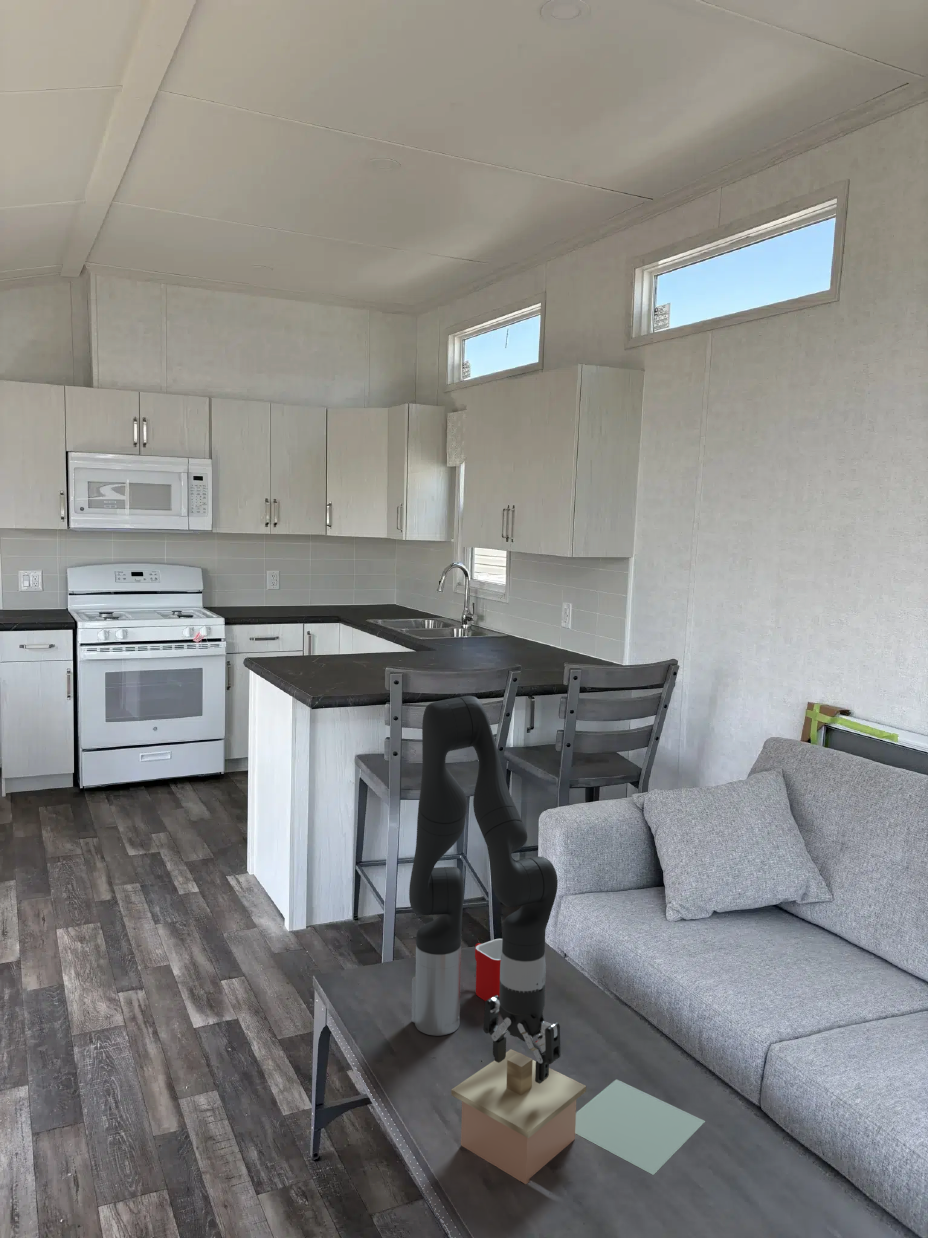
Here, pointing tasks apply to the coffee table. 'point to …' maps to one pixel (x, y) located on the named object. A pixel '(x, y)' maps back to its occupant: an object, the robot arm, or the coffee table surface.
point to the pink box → (516, 1141)
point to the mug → (488, 968)
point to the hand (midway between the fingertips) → (520, 1070)
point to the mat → (635, 1126)
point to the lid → (518, 1093)
